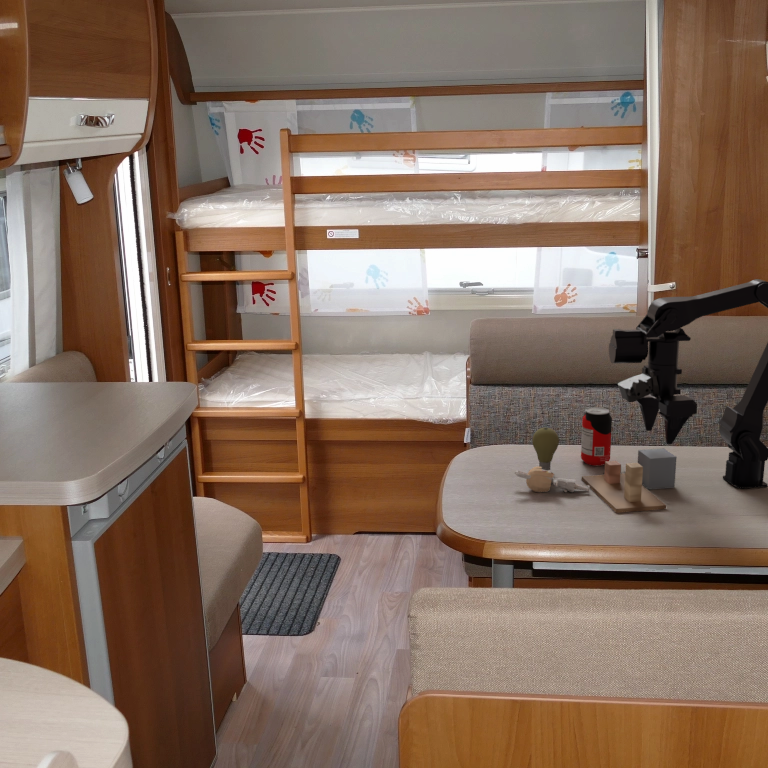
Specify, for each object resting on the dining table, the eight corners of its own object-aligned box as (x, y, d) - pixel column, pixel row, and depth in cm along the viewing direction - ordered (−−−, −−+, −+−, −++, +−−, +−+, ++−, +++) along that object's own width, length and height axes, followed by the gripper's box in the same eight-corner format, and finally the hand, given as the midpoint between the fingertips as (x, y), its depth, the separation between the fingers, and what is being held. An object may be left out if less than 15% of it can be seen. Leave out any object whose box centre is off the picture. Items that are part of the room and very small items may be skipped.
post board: (626, 476, 179) (628, 441, 177) (665, 509, 162) (668, 470, 160) (581, 479, 178) (582, 444, 176) (616, 512, 160) (618, 474, 158)
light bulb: (557, 477, 179) (559, 432, 177) (531, 476, 180) (532, 431, 178) (557, 468, 185) (559, 424, 182) (532, 467, 186) (533, 423, 183)
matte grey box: (661, 478, 178) (663, 448, 176) (674, 487, 172) (676, 456, 171) (636, 479, 177) (638, 450, 175) (648, 489, 171) (650, 458, 170)
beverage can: (613, 466, 185) (615, 414, 182) (584, 467, 185) (586, 414, 182) (606, 457, 191) (608, 406, 188) (578, 457, 191) (579, 406, 188)
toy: (595, 480, 166) (519, 463, 167) (589, 506, 166) (514, 489, 167) (587, 475, 176) (516, 459, 177) (581, 500, 176) (510, 484, 177)
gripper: (605, 355, 176) (603, 426, 180) (644, 375, 158) (640, 454, 162) (656, 352, 178) (652, 423, 181) (700, 372, 160) (695, 450, 164)
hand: (658, 437), depth 172 cm, fingers open, 9 cm apart
